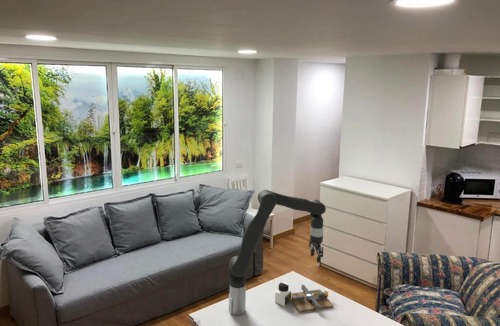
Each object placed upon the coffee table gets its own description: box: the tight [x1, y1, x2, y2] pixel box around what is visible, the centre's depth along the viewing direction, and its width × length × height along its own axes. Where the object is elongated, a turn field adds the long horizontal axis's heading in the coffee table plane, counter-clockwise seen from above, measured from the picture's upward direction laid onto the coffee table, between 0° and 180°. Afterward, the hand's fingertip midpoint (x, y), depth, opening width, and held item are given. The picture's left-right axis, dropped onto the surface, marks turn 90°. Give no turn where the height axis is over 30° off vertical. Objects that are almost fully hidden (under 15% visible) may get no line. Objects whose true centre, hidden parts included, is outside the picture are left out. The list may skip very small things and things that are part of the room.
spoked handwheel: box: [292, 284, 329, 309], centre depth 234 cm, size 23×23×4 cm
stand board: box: [290, 289, 334, 314], centre depth 234 cm, size 22×18×2 cm
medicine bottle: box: [274, 281, 292, 307], centre depth 233 cm, size 7×7×12 cm
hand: (315, 259), depth 229 cm, fingers open, 8 cm apart
